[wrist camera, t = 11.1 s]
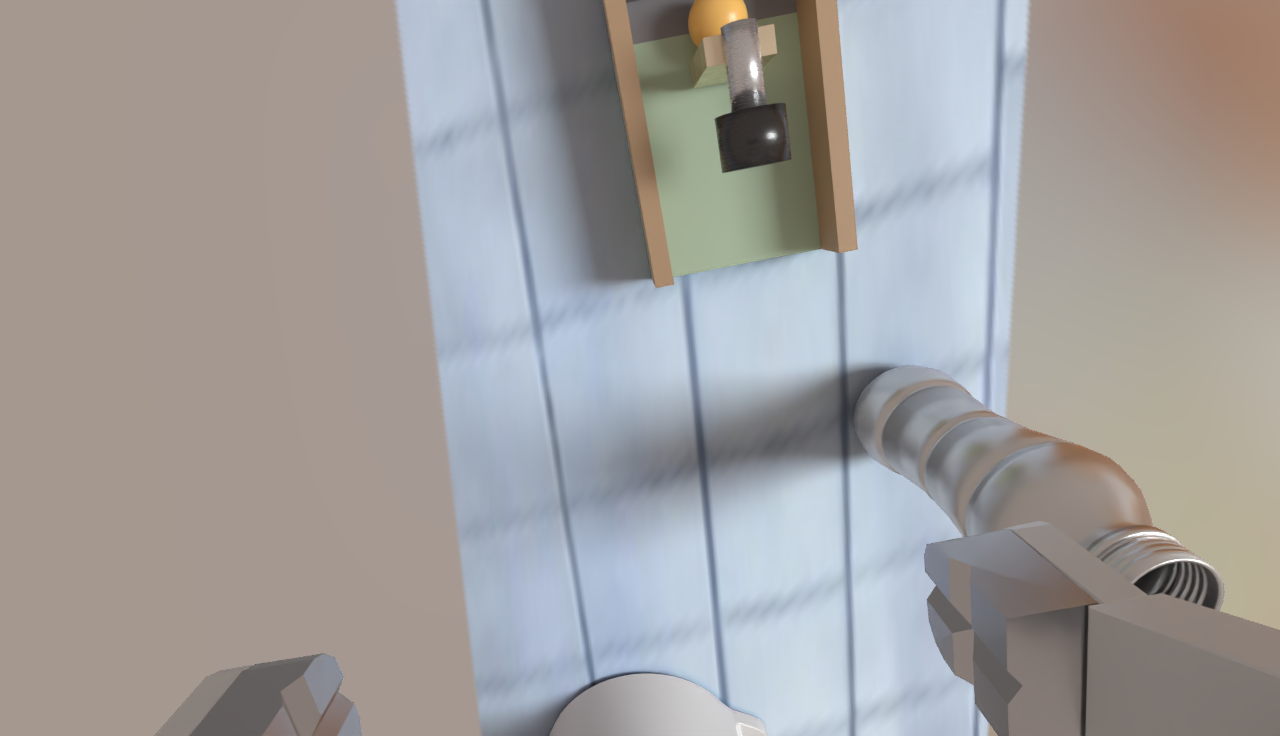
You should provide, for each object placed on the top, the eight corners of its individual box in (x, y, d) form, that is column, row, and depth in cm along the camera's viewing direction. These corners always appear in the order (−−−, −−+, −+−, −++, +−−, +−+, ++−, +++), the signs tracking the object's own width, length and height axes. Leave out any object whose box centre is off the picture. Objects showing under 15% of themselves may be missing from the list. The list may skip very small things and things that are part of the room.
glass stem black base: (763, 167, 33) (800, 157, 26) (706, 177, 33) (728, 171, 26) (748, 48, 31) (784, 5, 24) (688, 60, 31) (707, 20, 25)
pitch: (831, 244, 36) (857, 249, 32) (651, 278, 36) (655, 288, 32) (802, -59, 31) (828, -96, 28) (598, -19, 32) (595, -49, 28)
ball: (756, 8, 28) (742, -33, 29) (694, 20, 28) (682, -21, 29) (751, 62, 31) (738, 22, 32) (694, 73, 31) (683, 33, 32)
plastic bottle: (823, 398, 38) (1031, 595, 19) (914, 335, 37) (1228, 476, 18) (874, 470, 40) (1114, 721, 21) (962, 412, 39) (1300, 617, 20)
